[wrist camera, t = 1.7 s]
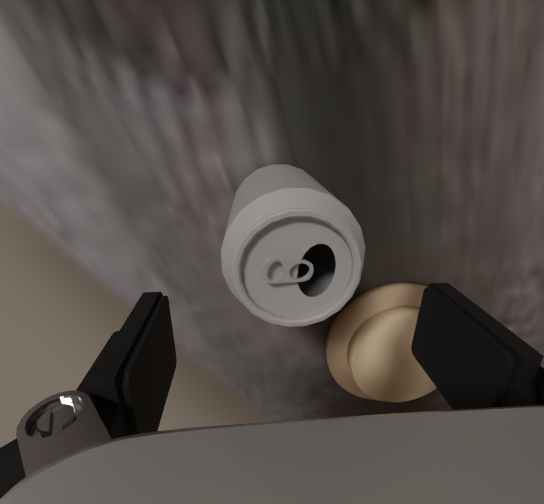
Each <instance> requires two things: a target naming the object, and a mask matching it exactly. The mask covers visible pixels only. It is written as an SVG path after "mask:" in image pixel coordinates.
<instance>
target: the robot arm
mask: <svg viewBox="0 0 544 504" xmlns="http://www.w3.org/2000/svg"><path fill="white" fill-rule="evenodd" d="M411 351H412V354H413V356H414V357H415V359H416V360H417V362H418V363H419V364H420V366H421V367H422V368H423V370H424V371H425V372H426V374H427V375H428V376H429V378H430V379H431V381H432V382H433V383H434V385H435V386H436V387H437V389H438V390H439V391H440V393H441V394H442V395H443V397H444V398H445V400H446V401H447V402H448V404H449V405H450V406H451V408H452V409H453V410H442V411H425V412H409V413H393V414H378V415H363V416H348V417H333V418H318V419H304V420H290V421H276V422H262V423H248V424H234V425H221V426H209V427H194V428H184V429H175V430H166V431H157V430H158V427H159V423H160V420H161V416H162V413H163V409H164V406H165V402H166V399H167V396H168V392H169V389H170V386H171V382H172V379H173V375H174V372H175V368H176V351H175V344H174V337H173V329H172V322H171V315H170V308H169V300H168V297H167V296H163V295H162V293H161V292H145V293H143V294H142V296H141V297H140V299H139V300H138V302H137V304H136V305H135V307H134V308H133V310H132V312H131V313H130V315H129V317H128V318H127V320H126V322H125V323H124V325H123V326H122V328H121V329H120V331H116V332H114V333H113V335H112V336H111V337H110V339H109V340H108V342H107V344H106V345H105V347H104V348H103V350H102V351H101V353H100V354H99V356H98V357H97V359H96V361H95V362H94V364H93V365H92V367H91V368H90V370H89V371H88V373H87V374H86V376H85V378H84V379H83V381H82V382H81V384H80V385H79V387H78V388H77V390H76V391H66V392H61V393H57V394H55V395H52V396H50V397H48V398H46V399H44V400H42V401H41V402H39V403H38V404H36V405H35V406H34V407H32V408H31V409H30V410H29V411H28V412H27V413H26V414H25V415H24V416H23V418H22V419H21V420H20V422H19V424H18V426H17V432H16V436H17V439H15V440H13V441H12V442H10V443H8V444H6V445H5V446H3V447H1V448H0V504H544V368H542V367H541V366H540V364H541V362H542V359H543V357H544V356H543V355H541V354H540V353H539V352H537V351H536V350H535V349H533V348H532V347H531V346H530V345H528V344H527V343H526V342H524V341H523V340H522V339H520V338H519V337H518V336H516V335H515V334H514V333H513V332H511V331H510V330H509V329H507V328H506V327H505V326H503V325H502V324H501V323H499V322H498V321H497V320H496V319H494V318H493V317H492V316H490V315H489V314H488V313H486V312H485V311H484V310H482V309H481V308H480V307H479V306H477V305H476V304H475V303H473V302H472V301H471V300H469V299H468V298H467V297H465V296H464V295H463V294H462V293H460V292H459V291H458V290H456V289H455V288H454V287H452V286H451V285H450V284H448V283H431V284H429V286H428V287H426V288H425V289H424V291H423V295H422V300H421V304H420V309H419V313H418V318H417V322H416V327H415V331H414V336H413V340H412V345H411Z"/></svg>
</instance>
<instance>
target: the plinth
mask: <svg viewBox="0 0 544 504" xmlns="http://www.w3.org/2000/svg"><path fill="white" fill-rule="evenodd" d="M428 286H429V285H426V284H422V283H416V282H394V283H389V284H384V285H381V286H378V287H375V288H373V289H370V290H368V291H366V292H364V293H362V294H361V295H359V296H357V297H356V298H354V299H353V300H352V301H350V302H349V303H348V304H347V305H346V306H345V307H344V308H343V309H342V310H341V311H340V312H339V313H338V314H337V316H336V317H335V319H334V320H333V322H332V324H331V326H330V328H329V330H328V333H327V336H326V341H325V356H326V360H327V364H328V367H329V370H330V372H331V374H332V376H333V378H334V379H335V381H336V382H337V383H338V384H339V385H340V386H341V387H342V388H343V389H345V390H346V391H348V392H349V393H351V394H353V395H356V396H358V397H361V398H365V399H370V400H380V401H384V402H404V401H409V400H413V399H416V398H419V397H422V396H424V395H426V394H428V393H430V392H431V391H433V390H435V389H436V388H437V387H436V386H435V385H434V383H433V382H432V381H431V379H430V378H429V376H428V375H427V374H426V372H425V371H424V370H423V368H422V367H421V366H420V364H419V363H418V362H417V360H416V359H415V357H414V356H413V354H412V351H411V345H412V340H413V336H414V331H415V327H416V322H417V318H418V313H419V309H420V304H421V300H422V295H423V291H424V289H425V288H426V287H428Z"/></svg>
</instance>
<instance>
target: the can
mask: <svg viewBox="0 0 544 504" xmlns="http://www.w3.org/2000/svg"><path fill="white" fill-rule="evenodd" d="M364 254H365V244H364V240H363V235H362V231H361V227H360V225H359V224H358V222H357V221H356V219H355V218H354V216H353V214H352V213H351V211H350V210H349V209H348V208H347V207H346V206H345V205H344V204H343V203H341V202H340V201H339V200H338V199H337V198H336V197H334V196H333V195H332V194H331V193H330V192H329V191H327V190H326V189H325V188H324V187H323V186H322V185H320V184H319V183H318V182H317V181H316V180H315V179H314V178H312V177H311V176H310V175H308V174H307V173H306V172H304V171H303V170H302V169H299V168H296V167H293V166H290V165H269V166H266V167H263V168H260V169H258V170H256V171H255V172H253V173H252V174H251V175H249V176H248V177H247V178H245V179H244V181H243V182H242V184H241V185H240V187H239V188H238V190H237V191H236V194H235V197H234V201H233V205H232V208H231V212H230V216H229V221H228V225H227V229H226V233H225V237H224V241H223V245H222V249H221V260H222V273H223V275H224V277H225V279H226V282H227V284H228V286H229V289H230V291H231V292H232V293H233V294H234V295H235V296H236V297H237V298H238V300H239V301H240V302H241V303H242V304H243V305H244V306H246V307H247V309H248V310H249V311H250V312H251V313H252V314H254V315H256V316H257V317H259V318H261V319H263V320H264V321H266V322H268V323H272V324H276V325H281V326H285V327H295V326H307V325H310V324H314V323H317V322H320V321H323V320H325V319H327V318H328V317H330V316H331V315H333V314H335V313H336V312H338V311H339V310H340V309H341V308H342V307H343V306H344V305H345V304H346V303H347V302H348V301H349V300H350V299H351V297H352V296H353V294H354V292H355V290H356V288H357V286H358V284H359V282H360V279H361V271H362V269H363V262H364Z"/></svg>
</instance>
